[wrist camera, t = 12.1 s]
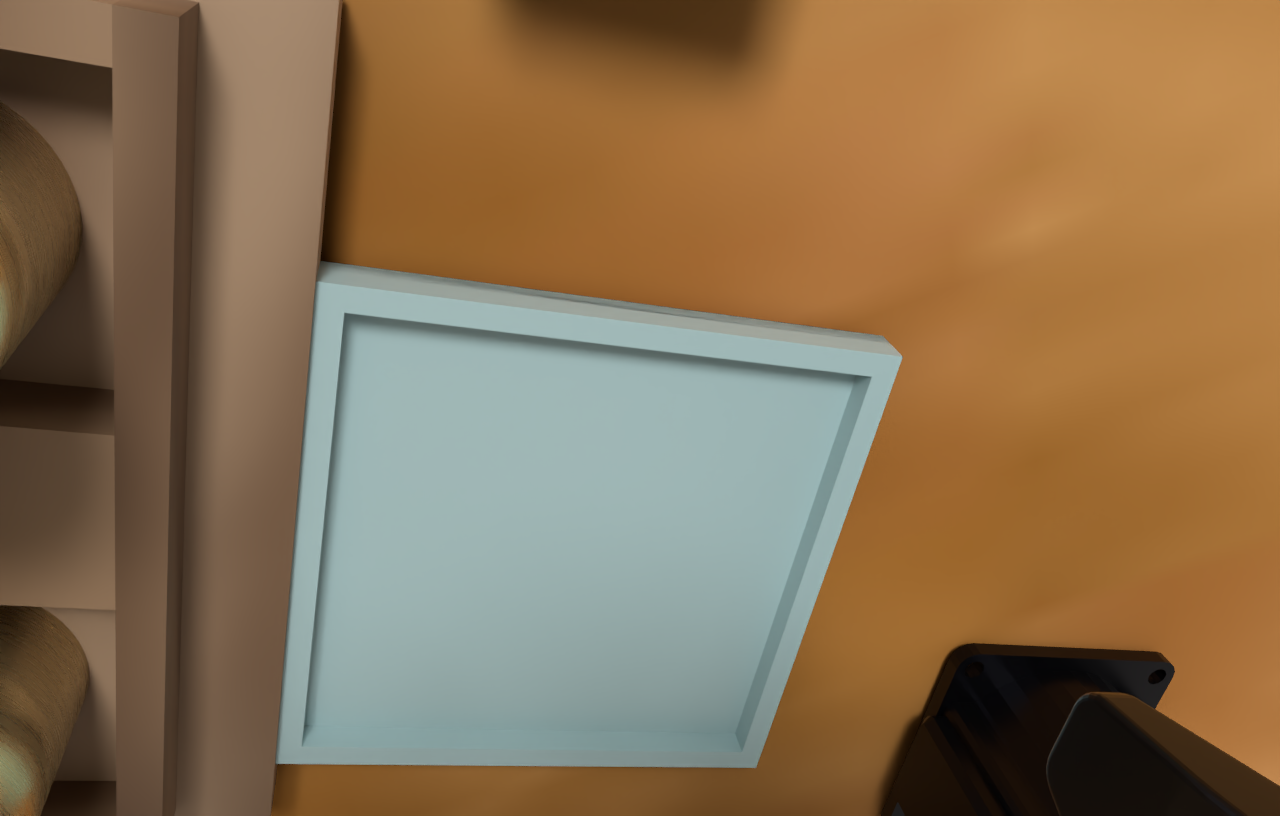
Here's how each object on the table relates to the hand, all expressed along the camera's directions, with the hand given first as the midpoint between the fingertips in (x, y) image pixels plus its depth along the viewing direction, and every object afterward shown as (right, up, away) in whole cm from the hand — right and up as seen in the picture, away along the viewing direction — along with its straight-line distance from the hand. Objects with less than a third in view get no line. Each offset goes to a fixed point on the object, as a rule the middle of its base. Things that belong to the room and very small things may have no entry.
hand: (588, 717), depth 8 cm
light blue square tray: (-1, 0, +14) cm, 14 cm away
